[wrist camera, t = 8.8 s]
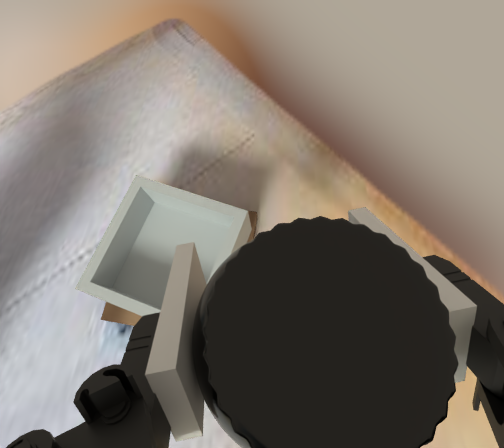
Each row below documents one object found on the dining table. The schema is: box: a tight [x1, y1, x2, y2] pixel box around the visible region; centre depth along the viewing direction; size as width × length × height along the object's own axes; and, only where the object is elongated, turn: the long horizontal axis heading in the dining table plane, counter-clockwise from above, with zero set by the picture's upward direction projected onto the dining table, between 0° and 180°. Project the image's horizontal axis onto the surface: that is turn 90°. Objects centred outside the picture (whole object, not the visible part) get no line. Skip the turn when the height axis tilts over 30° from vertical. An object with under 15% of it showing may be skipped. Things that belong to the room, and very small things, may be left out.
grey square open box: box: [75, 175, 252, 316], centre depth 32 cm, size 12×12×6 cm
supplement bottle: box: [192, 216, 459, 448], centre depth 11 cm, size 7×7×12 cm
